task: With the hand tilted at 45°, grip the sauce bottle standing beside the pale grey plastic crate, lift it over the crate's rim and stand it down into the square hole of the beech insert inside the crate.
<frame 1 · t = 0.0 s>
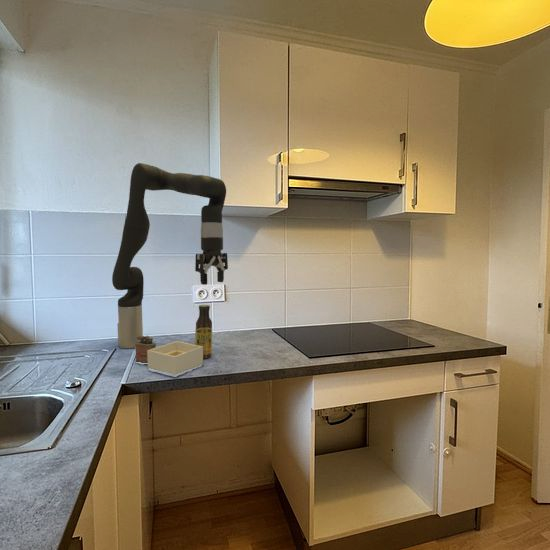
hand: (212, 283, 116), 29 cm above the worktop, tool pointing down, fingers open, 8 cm apart
sauce bottle: (203, 357, 127), on the worktop
potted plant: (146, 363, 120), on the worktop
crate: (176, 368, 115), on the worktop
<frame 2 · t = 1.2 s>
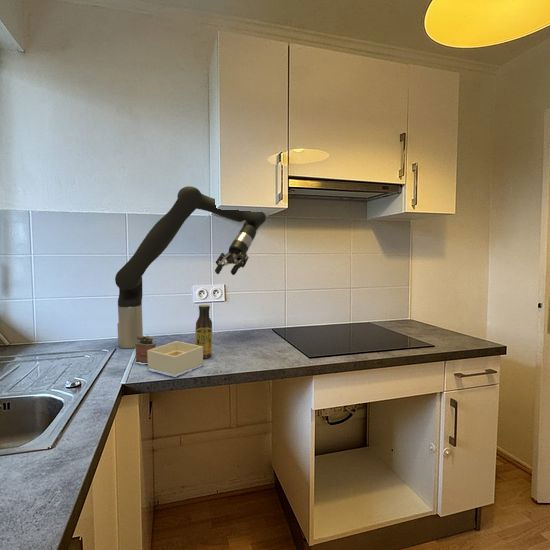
hand: (224, 273, 138), 31 cm above the worktop, tool tilted 45°, fingers open, 8 cm apart
nothing on the worktop moved.
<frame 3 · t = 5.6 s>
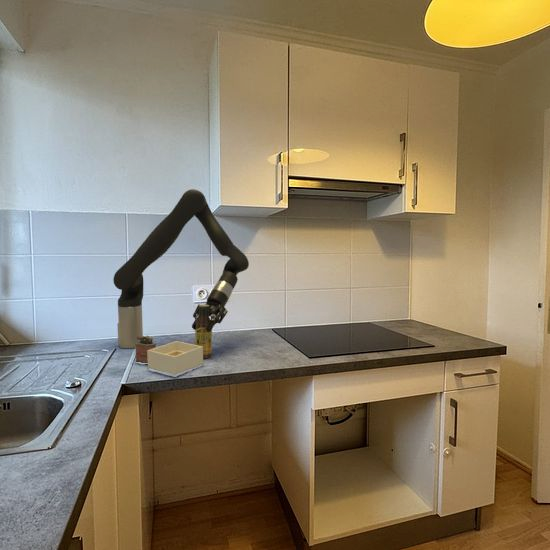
hand: (200, 329, 125), 11 cm above the worktop, tool tilted 45°, fingers closed on sauce bottle, 6 cm apart
sauce bottle: (203, 357, 127), on the worktop, touching gripper
everything else where it was.
when the fingers open (13 cm above the worktop, at t = 12.6 s): sauce bottle stays where it is, resting on crate.
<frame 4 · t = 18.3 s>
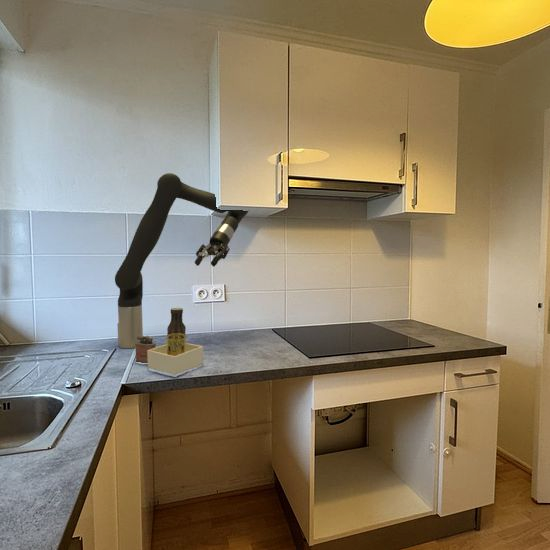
hand: (204, 264, 134), 35 cm above the worktop, tool tilted 45°, fingers open, 8 cm apart
sauce bottle: (176, 365, 115), point 1 cm above the worktop, touching crate
everything else where it was.
at the end: sauce bottle 0.2 cm off-centre on the crate, point 0.8 cm above the crate's base; sauce bottle tilted 0°; the gripper is holding nothing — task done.
